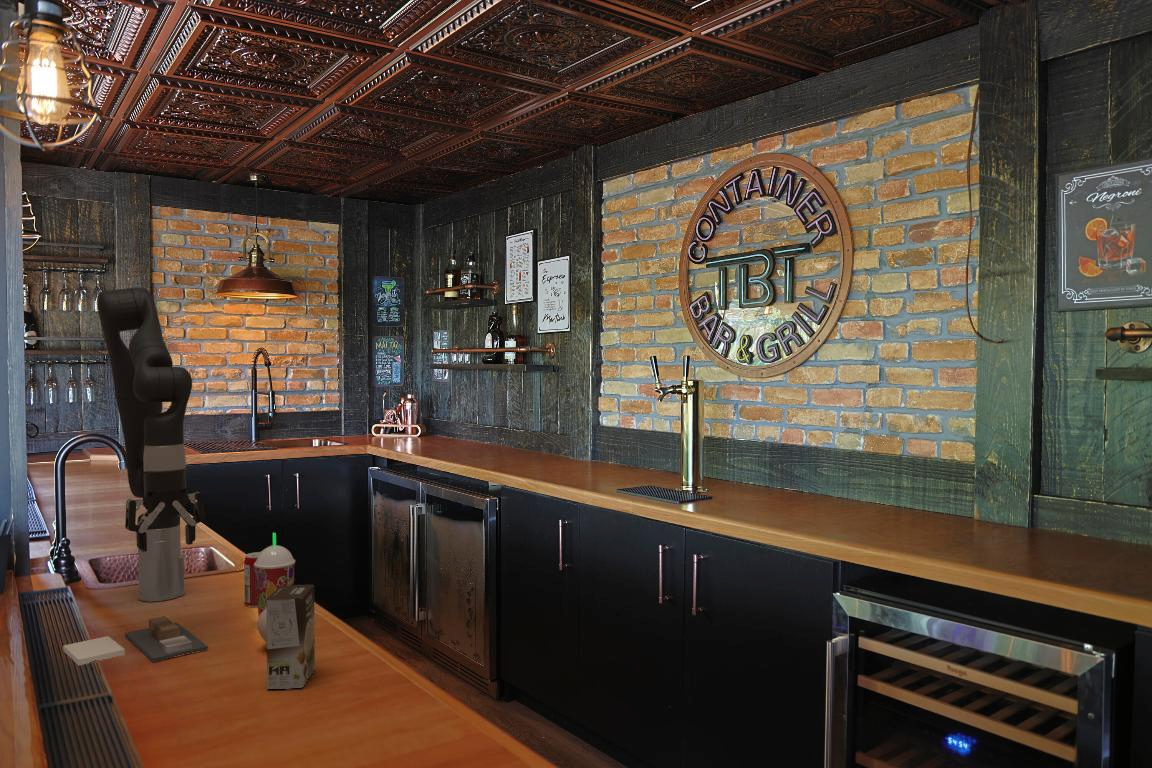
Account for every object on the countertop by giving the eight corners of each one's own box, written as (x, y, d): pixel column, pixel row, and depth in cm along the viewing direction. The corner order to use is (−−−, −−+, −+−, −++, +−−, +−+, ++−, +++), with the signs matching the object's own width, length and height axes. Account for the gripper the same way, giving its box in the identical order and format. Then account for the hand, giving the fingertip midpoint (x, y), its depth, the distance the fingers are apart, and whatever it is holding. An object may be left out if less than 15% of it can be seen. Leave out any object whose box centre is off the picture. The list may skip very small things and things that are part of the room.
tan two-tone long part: (144, 634, 172) (144, 619, 172) (168, 629, 175) (168, 615, 175) (167, 653, 161) (166, 638, 160) (192, 647, 164) (191, 632, 163)
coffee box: (304, 689, 145) (302, 598, 144) (266, 691, 144) (264, 599, 144) (316, 670, 154) (314, 583, 154) (280, 671, 154) (279, 584, 153)
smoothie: (304, 621, 182) (302, 530, 182) (278, 633, 174) (277, 538, 174) (272, 617, 185) (271, 528, 184) (246, 629, 177) (244, 535, 176)
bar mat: (176, 626, 179) (176, 622, 179) (207, 650, 165) (207, 646, 165) (125, 636, 173) (125, 632, 173) (153, 662, 158) (153, 658, 158)
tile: (108, 636, 170) (124, 649, 162) (108, 643, 170) (125, 657, 162) (63, 645, 165) (78, 659, 157) (63, 653, 165) (78, 668, 157)
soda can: (275, 602, 196) (274, 552, 196) (257, 609, 191) (256, 557, 191) (257, 599, 199) (256, 549, 198) (239, 606, 194) (238, 554, 193)
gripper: (195, 461, 174) (197, 539, 175) (120, 468, 164) (122, 550, 165) (208, 465, 168) (209, 545, 169) (130, 472, 159) (132, 556, 159)
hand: (166, 547), depth 167 cm, fingers open, 8 cm apart
